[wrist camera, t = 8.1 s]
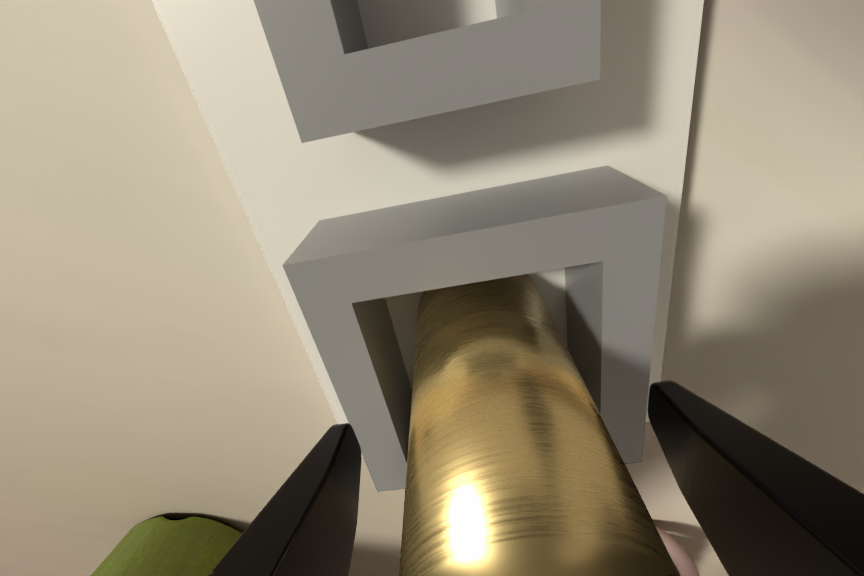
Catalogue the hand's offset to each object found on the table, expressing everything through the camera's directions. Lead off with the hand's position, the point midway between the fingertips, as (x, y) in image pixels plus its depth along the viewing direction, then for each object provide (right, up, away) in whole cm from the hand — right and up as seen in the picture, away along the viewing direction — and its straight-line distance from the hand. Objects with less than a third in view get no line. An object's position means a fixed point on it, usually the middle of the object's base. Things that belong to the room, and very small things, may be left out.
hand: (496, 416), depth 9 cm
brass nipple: (0, +2, +4) cm, 4 cm away
